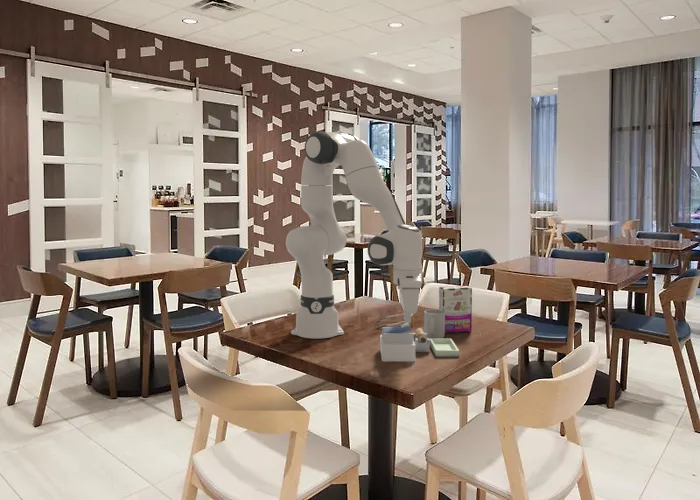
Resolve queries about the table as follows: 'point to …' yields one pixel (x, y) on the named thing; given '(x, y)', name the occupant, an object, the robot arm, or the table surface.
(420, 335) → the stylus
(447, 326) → the candy bar box
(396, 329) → the blue box
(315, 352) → the table surface
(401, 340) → the grey card holder
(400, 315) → the sunglasses
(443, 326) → the cup
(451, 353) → the tray
